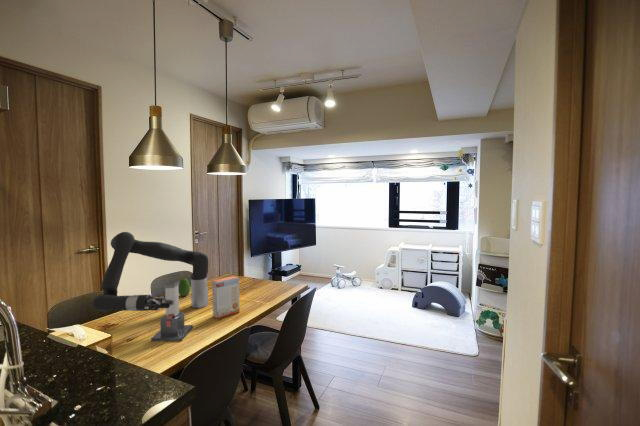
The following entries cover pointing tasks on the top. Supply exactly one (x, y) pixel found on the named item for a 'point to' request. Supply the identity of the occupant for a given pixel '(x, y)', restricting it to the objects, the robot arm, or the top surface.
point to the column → (172, 298)
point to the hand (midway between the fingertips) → (173, 302)
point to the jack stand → (172, 328)
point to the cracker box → (225, 296)
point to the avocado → (184, 287)
